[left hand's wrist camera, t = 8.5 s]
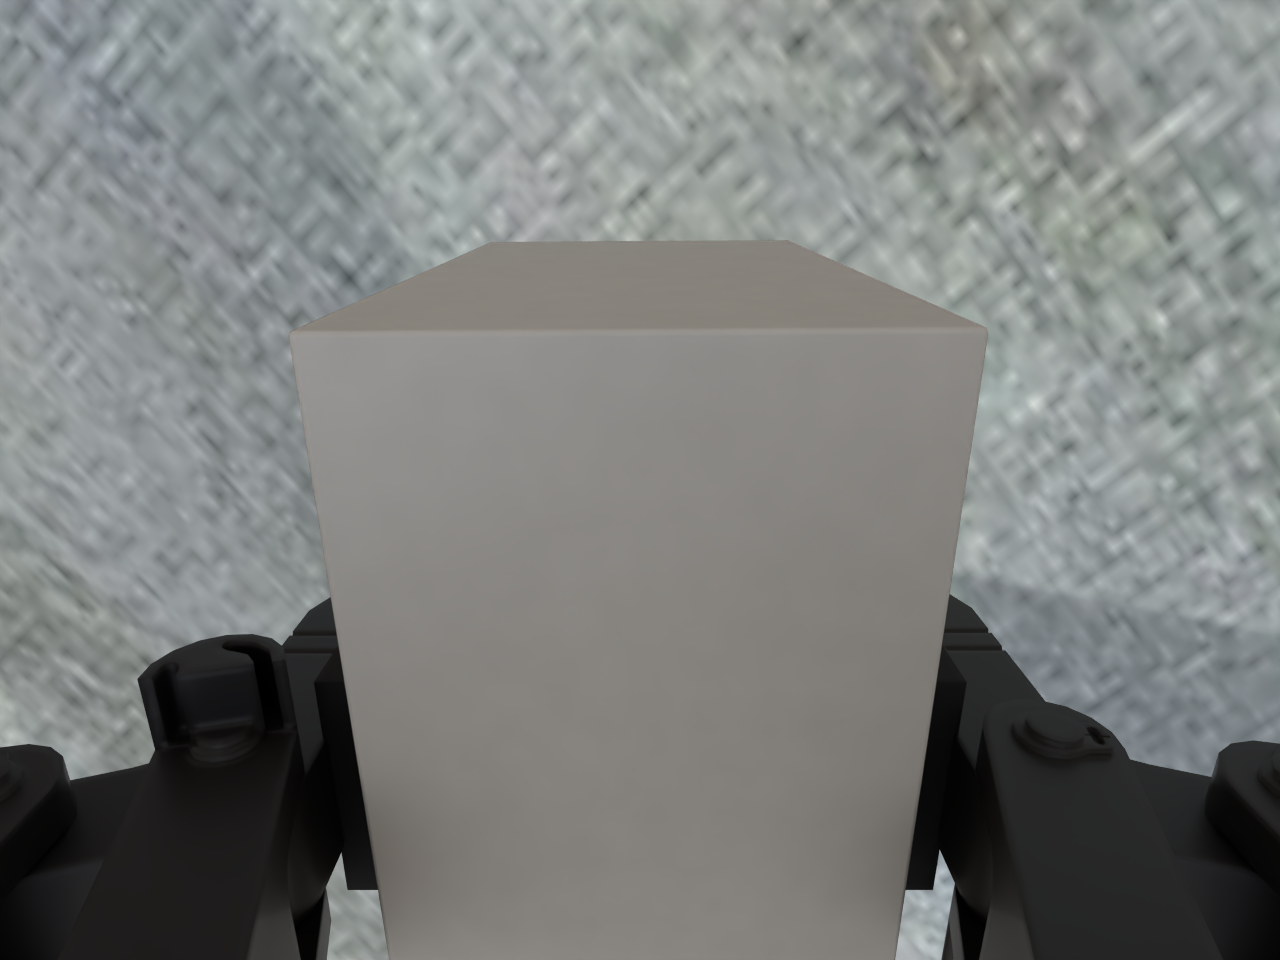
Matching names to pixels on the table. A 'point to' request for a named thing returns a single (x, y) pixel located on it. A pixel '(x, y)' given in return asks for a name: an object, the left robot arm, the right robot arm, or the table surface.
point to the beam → (640, 593)
